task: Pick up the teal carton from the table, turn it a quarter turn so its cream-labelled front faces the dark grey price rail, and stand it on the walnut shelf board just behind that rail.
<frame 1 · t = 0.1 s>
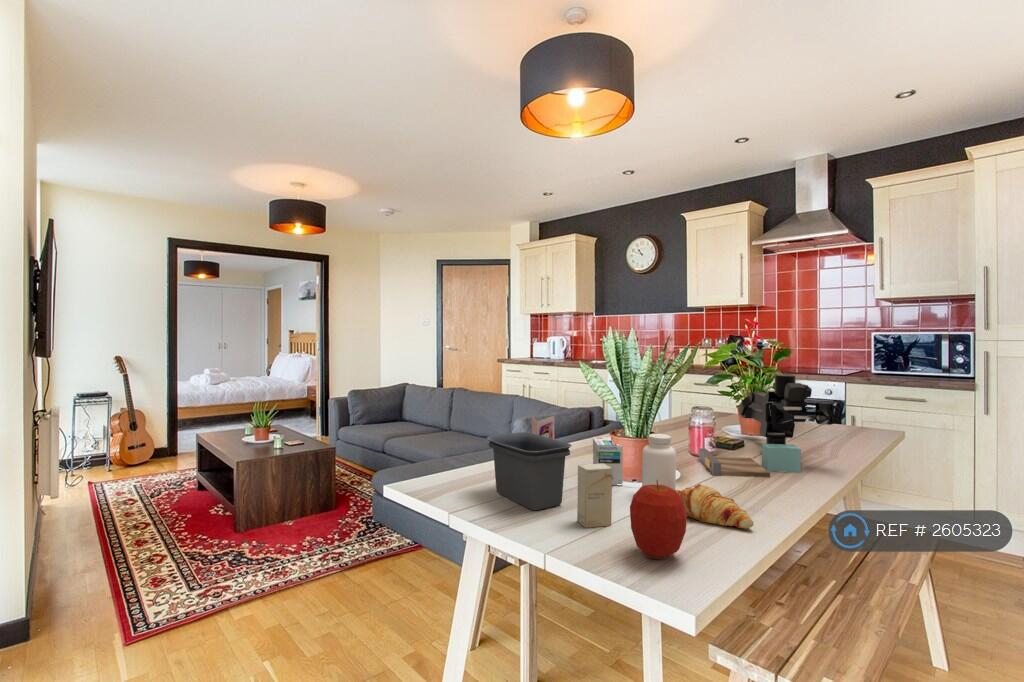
hand: (810, 418, 140), 17 cm above the table, tool horizontal, fingers open, 9 cm apart
price rail: (709, 467, 151), on the table
storage bin: (530, 499, 123), on the table
skincare box: (594, 524, 107), on the table
apple: (657, 556, 91), on the table
teal carton: (780, 469, 149), on the table
shelf board: (736, 468, 150), on the table
croissant: (705, 518, 111), on the table
pink printed box: (537, 468, 150), on the table
light bulb box: (607, 480, 138), on the table
pill bottle: (658, 497, 124), on the table
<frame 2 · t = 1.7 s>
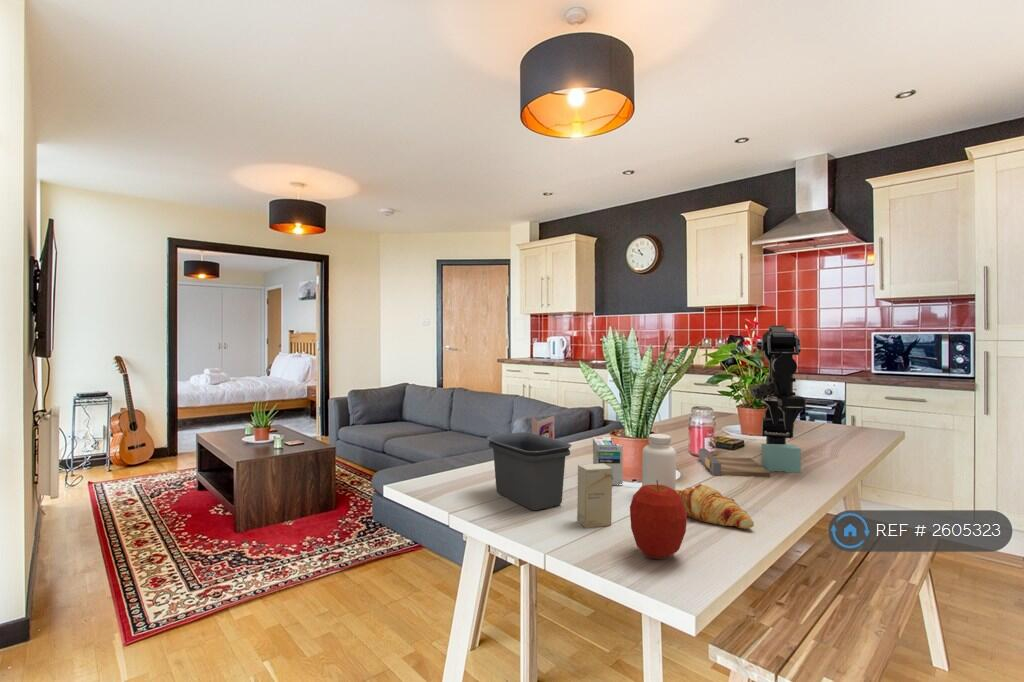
hand: (781, 427, 148), 12 cm above the table, tool pointing down, fingers open, 9 cm apart
nothing on the table moved.
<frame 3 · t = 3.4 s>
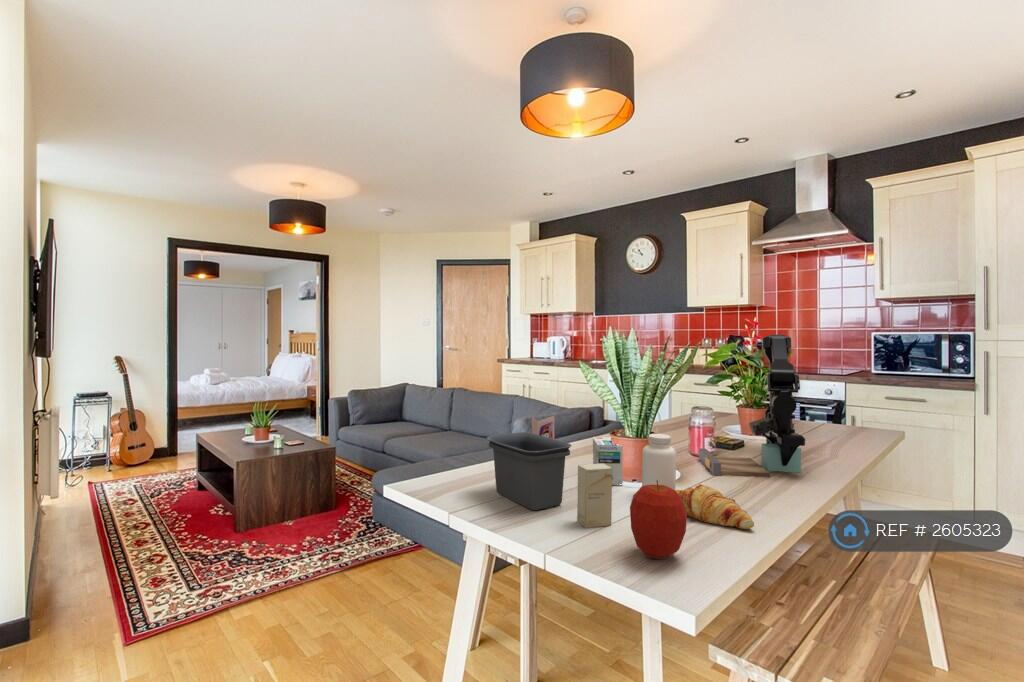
hand: (780, 463, 148), 2 cm above the table, tool pointing down, fingers closed on teal carton, 5 cm apart
teal carton: (780, 469, 148), on the table, touching gripper
everything else where it was.
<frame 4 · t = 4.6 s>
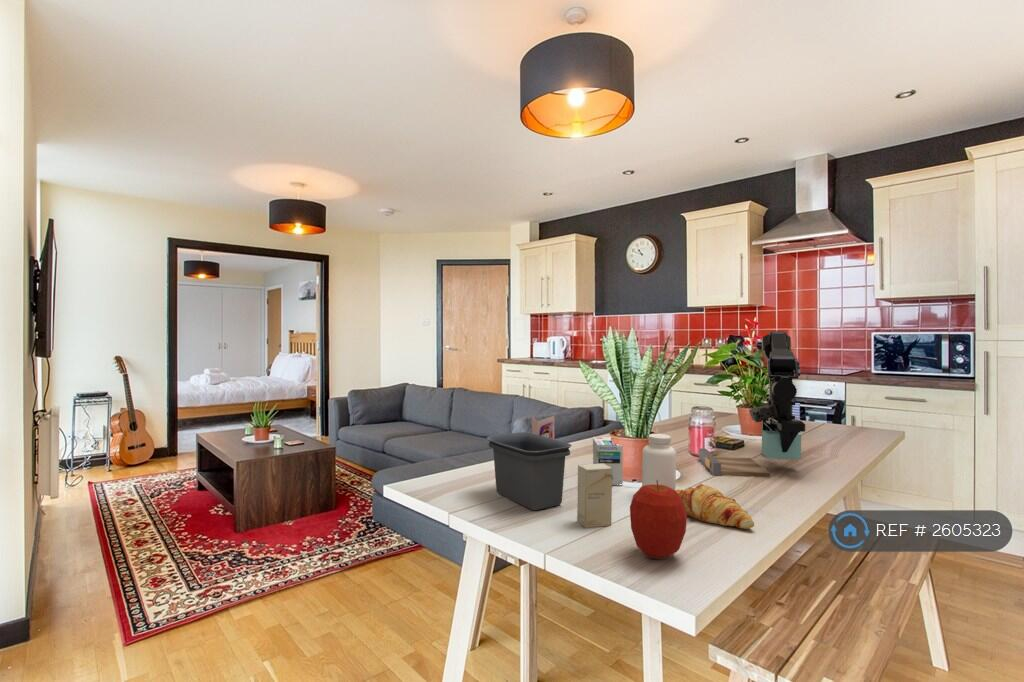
hand: (780, 449, 148), 6 cm above the table, tool pointing down, fingers closed on teal carton, 5 cm apart
teal carton: (780, 456, 148), point 4 cm above the table, touching gripper
everything else where it was.
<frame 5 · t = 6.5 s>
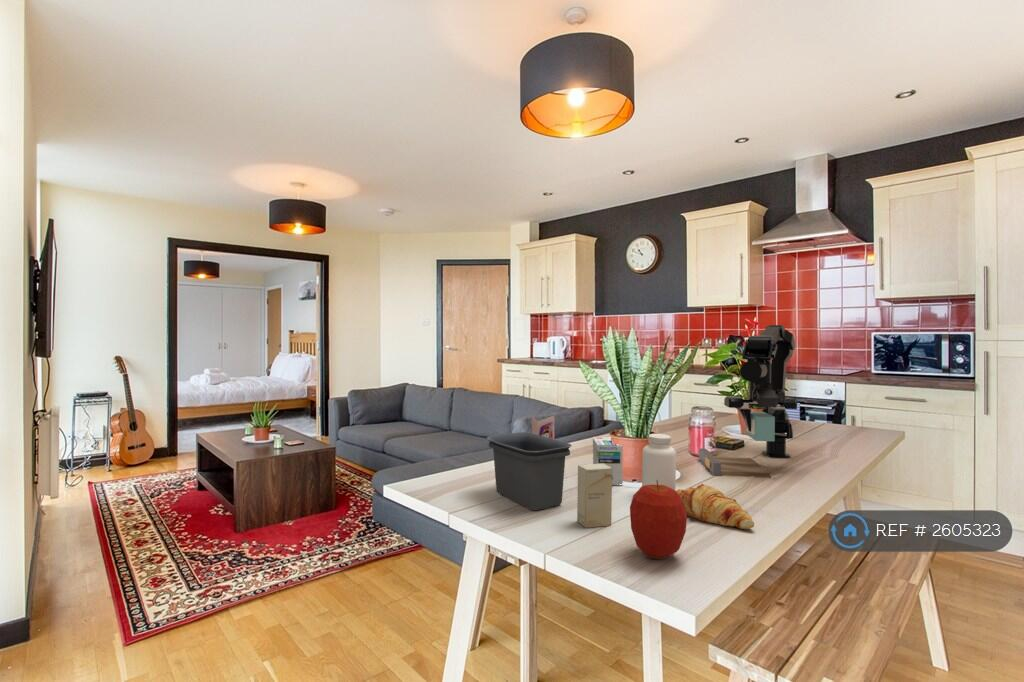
hand: (759, 431, 149), 11 cm above the table, tool pointing down, fingers closed on teal carton, 5 cm apart
teal carton: (759, 437, 149), point 9 cm above the table, touching gripper
everything else where it was.
when the fingers open (4 cm above the table, at t = 9.3 s): teal carton drops 1 cm, resting on shelf board.
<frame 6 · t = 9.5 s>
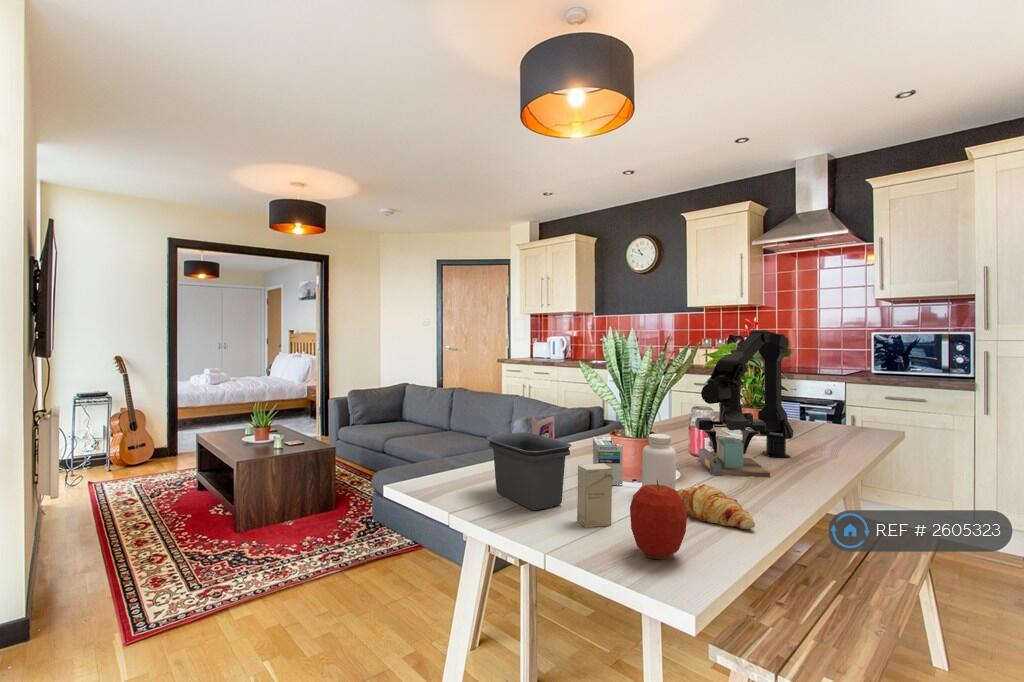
hand: (729, 453, 150), 4 cm above the table, tool pointing down, fingers open, 8 cm apart
teal carton: (729, 463, 150), point 1 cm above the table, touching shelf board
everything else where it was.
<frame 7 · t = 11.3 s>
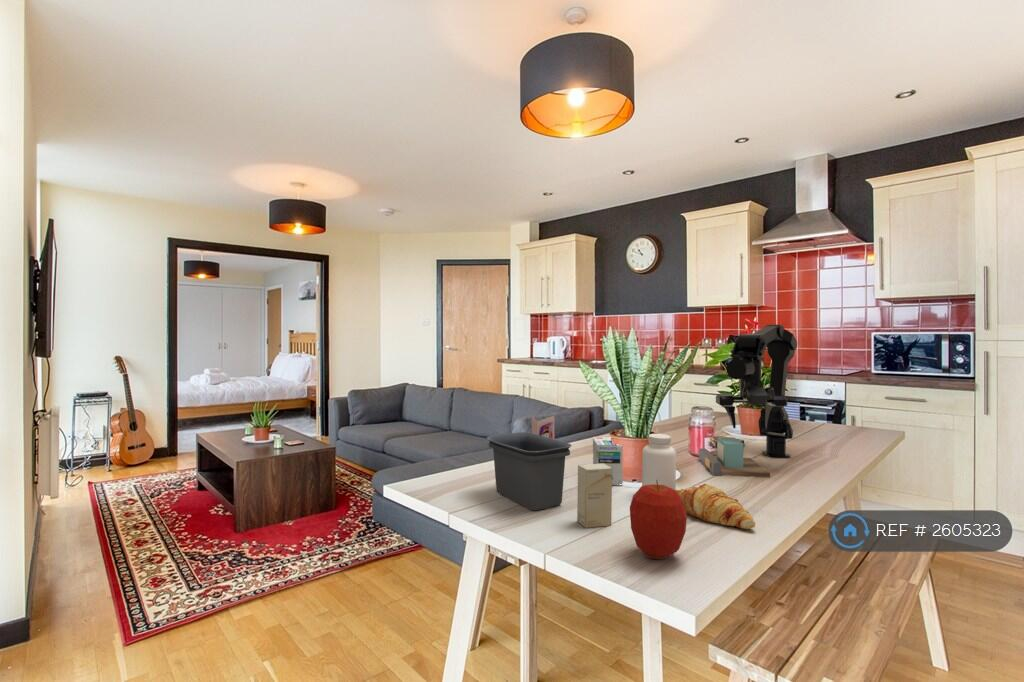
hand: (750, 428, 151), 11 cm above the table, tool pointing down, fingers open, 9 cm apart
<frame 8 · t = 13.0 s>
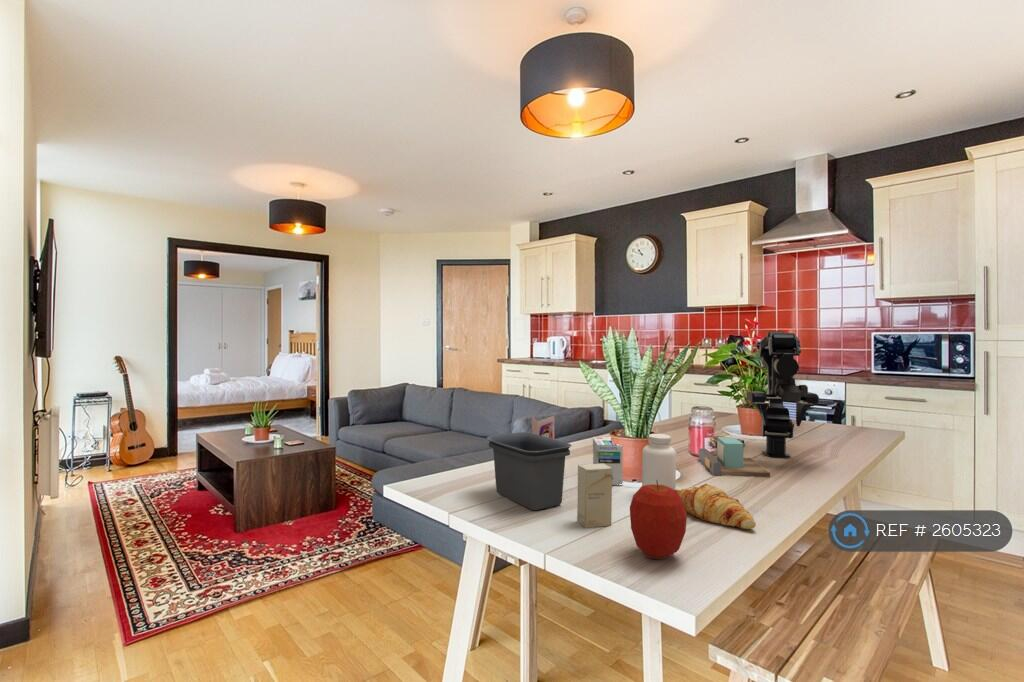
hand: (781, 425, 153), 12 cm above the table, tool pointing down, fingers open, 9 cm apart
at the end: teal carton inside the target area (0.1 cm from its centre), point 1.2 cm above the table; teal carton tilted 0°; the gripper is holding nothing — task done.
